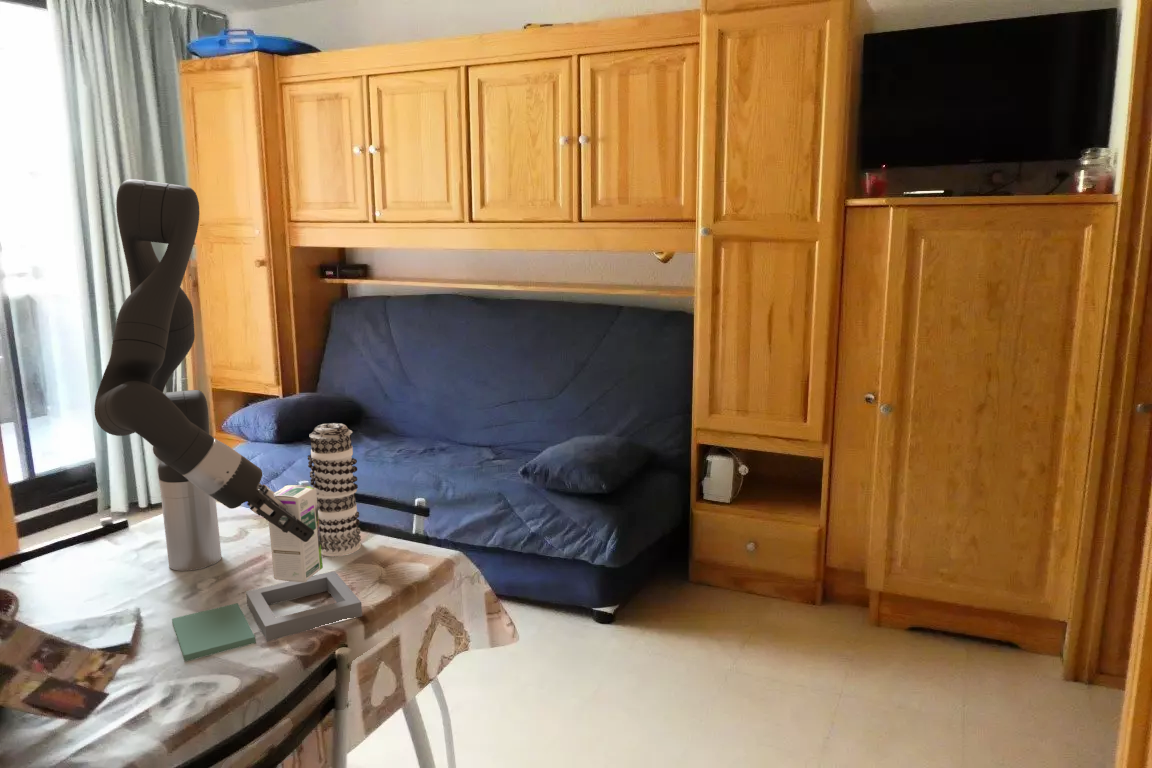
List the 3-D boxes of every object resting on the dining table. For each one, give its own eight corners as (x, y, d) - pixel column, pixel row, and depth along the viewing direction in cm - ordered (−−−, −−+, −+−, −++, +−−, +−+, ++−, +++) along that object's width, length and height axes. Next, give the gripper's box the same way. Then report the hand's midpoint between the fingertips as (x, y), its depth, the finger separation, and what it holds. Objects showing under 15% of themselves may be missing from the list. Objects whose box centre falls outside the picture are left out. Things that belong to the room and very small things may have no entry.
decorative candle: (305, 549, 163) (295, 427, 159) (345, 536, 170) (337, 418, 166) (331, 561, 157) (322, 434, 153) (372, 546, 164) (364, 424, 160)
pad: (172, 624, 133) (171, 618, 133) (238, 608, 138) (237, 603, 138) (184, 661, 121) (183, 655, 121) (255, 642, 127) (255, 636, 126)
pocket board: (247, 605, 139) (245, 591, 139) (335, 583, 147) (334, 570, 147) (266, 641, 127) (265, 626, 126) (362, 616, 135) (361, 601, 134)
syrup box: (305, 583, 133) (299, 497, 130) (272, 580, 134) (265, 494, 131) (323, 568, 138) (317, 486, 135) (291, 565, 139) (285, 483, 136)
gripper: (248, 465, 122) (331, 523, 130) (230, 443, 134) (308, 498, 142) (212, 505, 120) (299, 562, 128) (198, 479, 132) (278, 533, 140)
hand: (303, 528), depth 135 cm, fingers closed on syrup box, 8 cm apart
